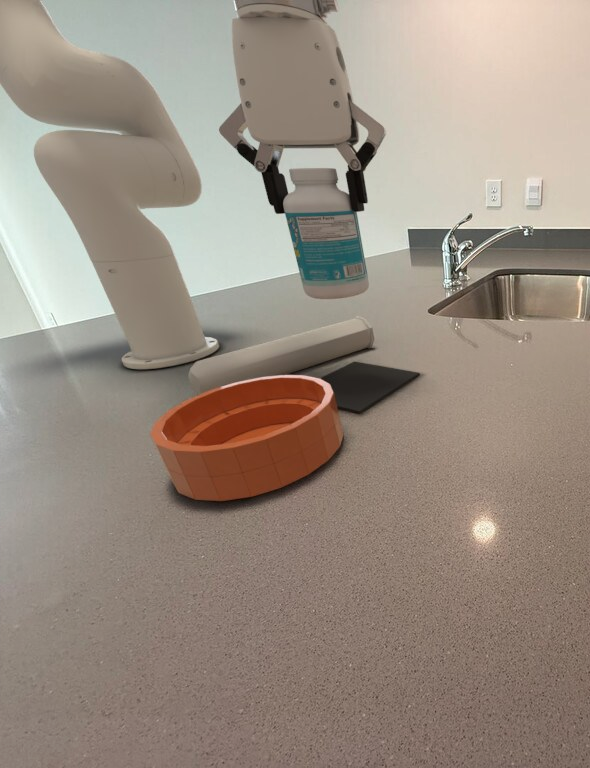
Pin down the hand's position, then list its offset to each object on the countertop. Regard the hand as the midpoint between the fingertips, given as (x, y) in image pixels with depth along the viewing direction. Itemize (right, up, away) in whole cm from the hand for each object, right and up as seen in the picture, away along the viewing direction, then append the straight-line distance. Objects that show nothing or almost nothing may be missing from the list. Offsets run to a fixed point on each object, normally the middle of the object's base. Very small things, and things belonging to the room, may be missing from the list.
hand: (321, 211), depth 46 cm
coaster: (0, -20, +9) cm, 22 cm away
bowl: (-3, -27, -5) cm, 27 cm away
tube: (-11, -17, +15) cm, 25 cm away
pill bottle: (0, -9, +4) cm, 9 cm away
